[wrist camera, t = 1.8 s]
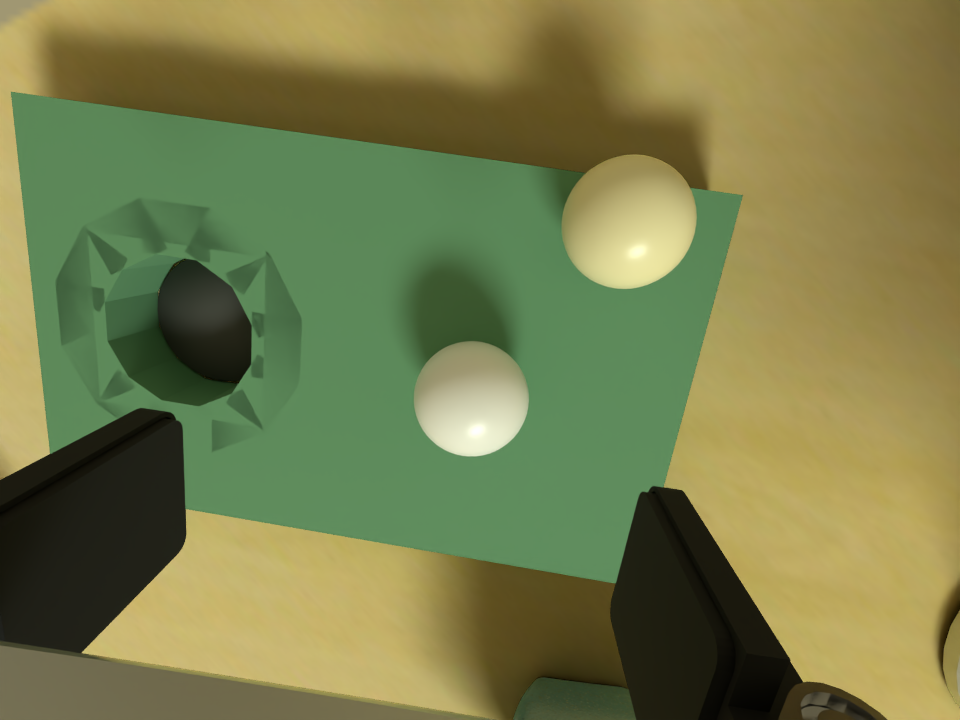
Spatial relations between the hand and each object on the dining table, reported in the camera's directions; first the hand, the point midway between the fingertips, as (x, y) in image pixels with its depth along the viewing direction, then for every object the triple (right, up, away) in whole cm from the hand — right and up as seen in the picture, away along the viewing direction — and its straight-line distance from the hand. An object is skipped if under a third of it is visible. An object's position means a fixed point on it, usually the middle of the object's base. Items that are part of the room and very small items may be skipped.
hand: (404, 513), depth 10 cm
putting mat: (-3, +4, +12) cm, 13 cm away
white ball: (+1, +2, +7) cm, 8 cm away
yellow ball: (+6, +7, +5) cm, 11 cm away
